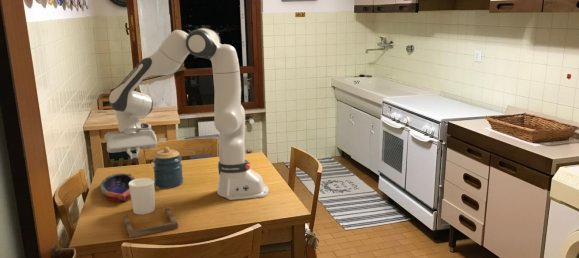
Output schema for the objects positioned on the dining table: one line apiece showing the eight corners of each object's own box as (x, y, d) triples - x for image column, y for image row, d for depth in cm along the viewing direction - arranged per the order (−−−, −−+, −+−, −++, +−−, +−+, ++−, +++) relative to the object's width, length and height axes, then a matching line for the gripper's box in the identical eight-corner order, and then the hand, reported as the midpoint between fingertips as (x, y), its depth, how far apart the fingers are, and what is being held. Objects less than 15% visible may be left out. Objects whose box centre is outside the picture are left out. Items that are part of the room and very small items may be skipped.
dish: (136, 179, 223) (135, 169, 222) (139, 203, 195) (138, 191, 194) (101, 183, 218) (100, 173, 217) (99, 208, 190) (98, 197, 188)
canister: (149, 187, 211) (146, 150, 207) (162, 178, 224) (159, 142, 220) (176, 189, 209) (174, 151, 205) (187, 179, 222) (185, 143, 217)
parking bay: (124, 221, 177) (123, 216, 177) (169, 212, 184) (168, 207, 184) (129, 238, 164) (129, 232, 163) (178, 228, 171) (177, 223, 170)
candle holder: (125, 213, 184) (122, 184, 182) (142, 204, 193) (139, 176, 190) (146, 217, 181) (143, 187, 178) (161, 207, 190) (159, 179, 187)
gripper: (103, 128, 193) (108, 157, 187) (154, 124, 202) (160, 151, 195) (103, 136, 198) (108, 165, 192) (153, 131, 206) (158, 158, 200)
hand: (134, 158), depth 194 cm, fingers closed
